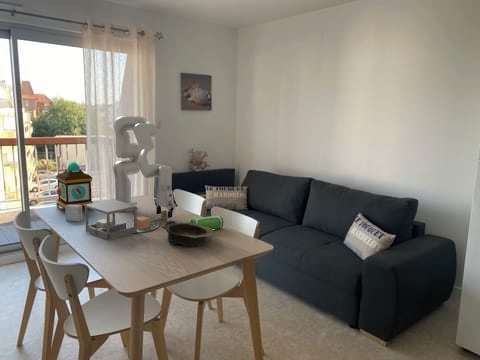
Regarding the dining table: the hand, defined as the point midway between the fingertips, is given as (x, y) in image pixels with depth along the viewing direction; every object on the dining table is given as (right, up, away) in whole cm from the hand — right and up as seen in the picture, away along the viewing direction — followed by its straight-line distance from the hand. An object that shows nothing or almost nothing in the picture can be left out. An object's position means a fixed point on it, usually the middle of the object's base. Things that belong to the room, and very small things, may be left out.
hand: (164, 215), depth 214 cm
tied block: (-5, -4, -7) cm, 10 cm away
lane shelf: (-23, -6, -22) cm, 32 cm away
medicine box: (-50, -2, -6) cm, 51 cm away
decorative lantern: (-60, +2, +17) cm, 63 cm away
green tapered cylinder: (+26, -7, -13) cm, 30 cm away
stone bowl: (+19, -10, -33) cm, 39 cm away
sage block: (-27, -6, -20) cm, 34 cm away
